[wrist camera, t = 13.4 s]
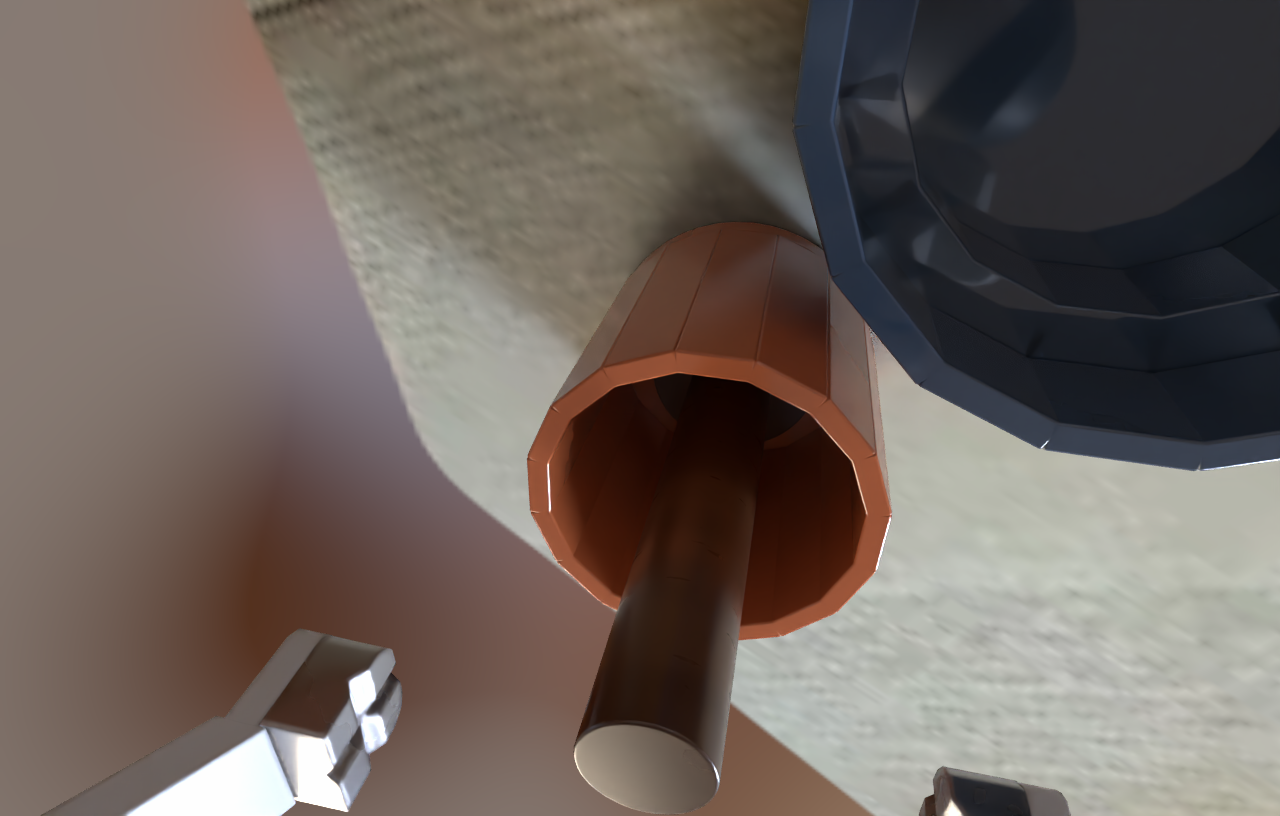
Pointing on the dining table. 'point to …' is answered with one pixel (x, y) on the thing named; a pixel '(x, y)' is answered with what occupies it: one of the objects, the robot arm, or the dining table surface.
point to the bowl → (1060, 212)
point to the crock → (736, 350)
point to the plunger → (682, 604)
